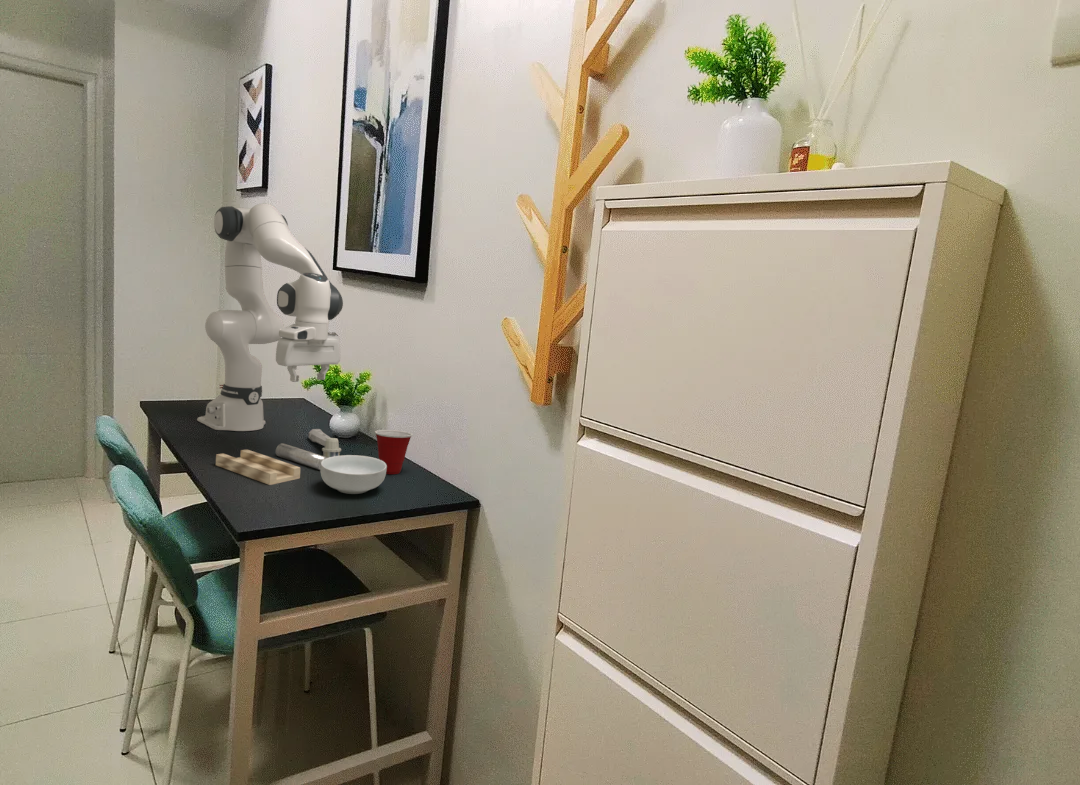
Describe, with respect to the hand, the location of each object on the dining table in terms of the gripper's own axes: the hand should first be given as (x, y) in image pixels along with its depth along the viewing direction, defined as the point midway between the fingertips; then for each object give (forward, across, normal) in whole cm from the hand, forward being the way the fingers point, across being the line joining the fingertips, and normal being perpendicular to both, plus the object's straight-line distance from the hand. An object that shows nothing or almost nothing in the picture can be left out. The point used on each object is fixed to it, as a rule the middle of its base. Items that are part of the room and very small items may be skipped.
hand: (307, 380), depth 188 cm
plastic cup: (+24, -14, +21) cm, 35 cm away
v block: (+24, +15, 0) cm, 28 cm away
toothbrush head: (+25, -15, -8) cm, 30 cm away
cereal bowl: (+24, +6, +26) cm, 36 cm away
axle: (+24, 0, 0) cm, 24 cm away
